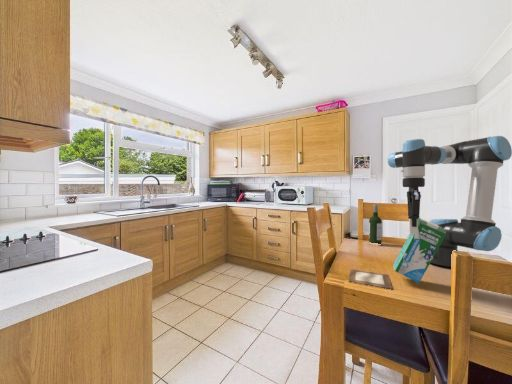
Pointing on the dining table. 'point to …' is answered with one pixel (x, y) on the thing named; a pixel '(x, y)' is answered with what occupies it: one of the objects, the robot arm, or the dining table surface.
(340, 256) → the dining table surface
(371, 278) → the rest board
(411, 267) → the milk carton
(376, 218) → the wine bottle
